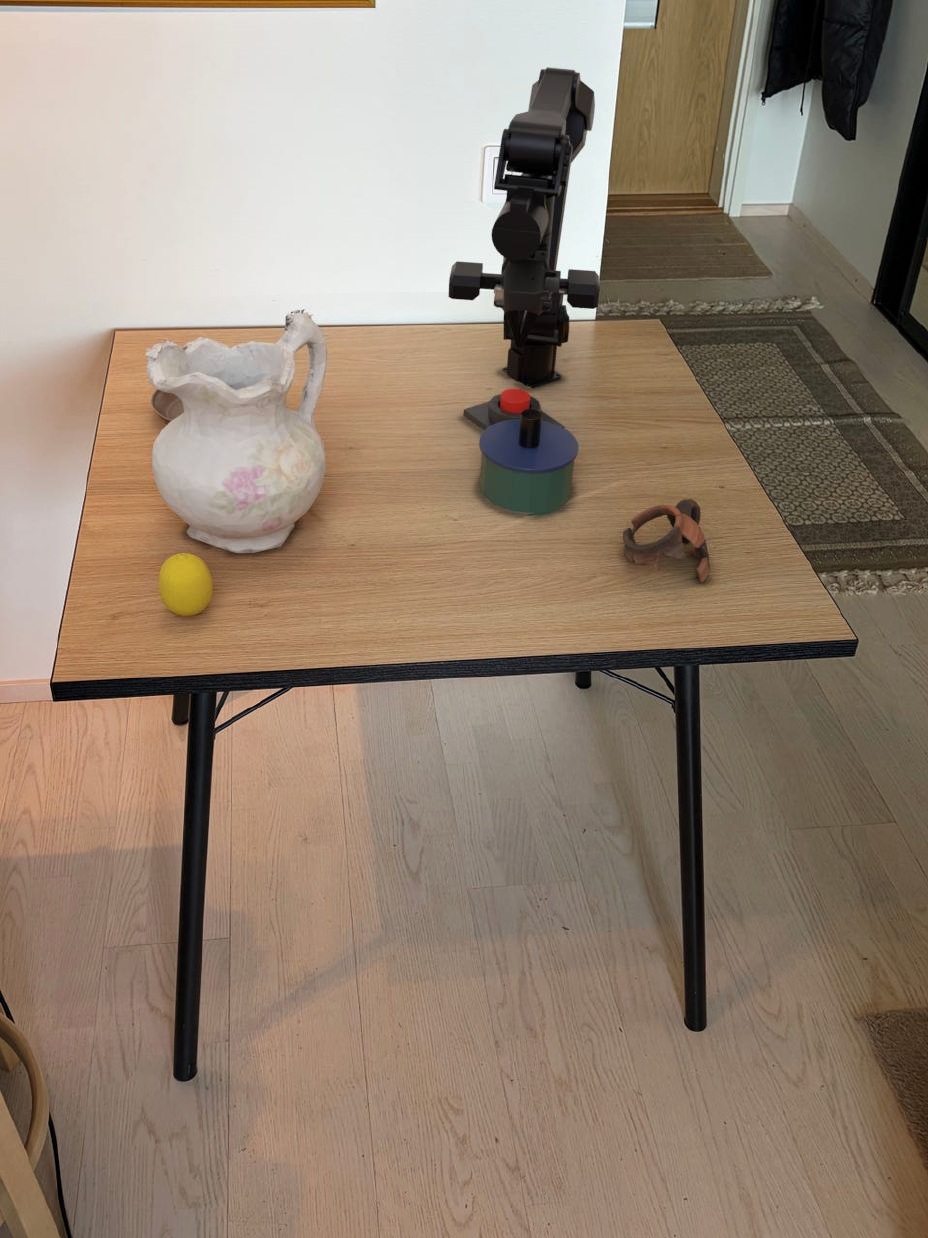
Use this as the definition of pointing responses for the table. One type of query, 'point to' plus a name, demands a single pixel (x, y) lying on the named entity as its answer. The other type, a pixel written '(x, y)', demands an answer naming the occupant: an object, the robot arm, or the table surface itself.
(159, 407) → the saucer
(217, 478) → the ceramic pitcher
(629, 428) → the table surface
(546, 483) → the pot
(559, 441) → the lid
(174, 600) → the lemon
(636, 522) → the broken clay ring
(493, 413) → the switch block
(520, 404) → the button
